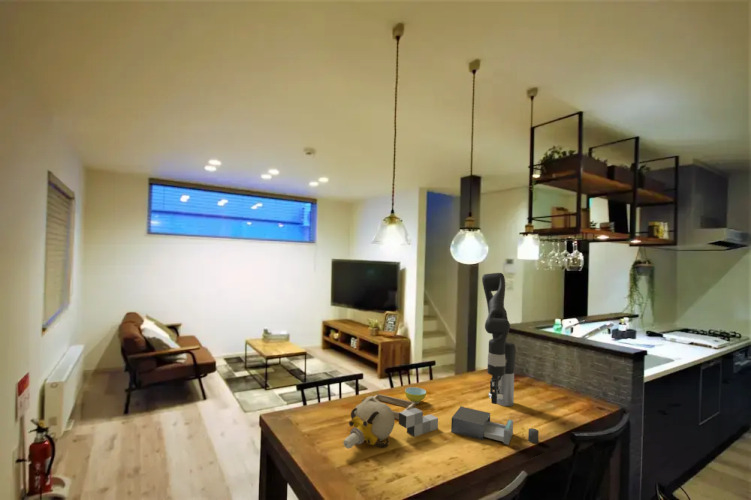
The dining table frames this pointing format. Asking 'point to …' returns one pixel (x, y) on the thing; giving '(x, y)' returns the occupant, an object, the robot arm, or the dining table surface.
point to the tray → (499, 431)
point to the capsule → (533, 435)
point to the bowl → (415, 394)
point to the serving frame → (396, 401)
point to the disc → (499, 395)
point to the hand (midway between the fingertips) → (495, 401)
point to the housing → (469, 422)
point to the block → (417, 422)
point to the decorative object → (370, 423)
